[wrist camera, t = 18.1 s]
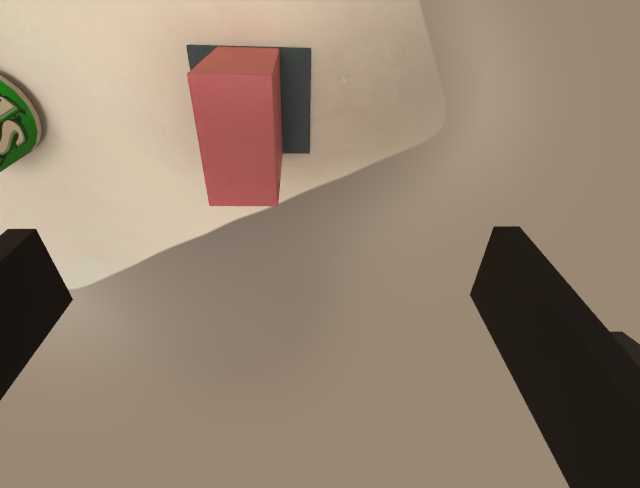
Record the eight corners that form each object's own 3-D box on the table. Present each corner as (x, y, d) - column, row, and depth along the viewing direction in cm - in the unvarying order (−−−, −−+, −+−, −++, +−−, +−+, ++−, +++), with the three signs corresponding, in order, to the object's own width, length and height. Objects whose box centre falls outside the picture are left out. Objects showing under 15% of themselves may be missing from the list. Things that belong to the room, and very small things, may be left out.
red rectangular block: (279, 47, 30) (272, 75, 22) (282, 153, 35) (277, 206, 27) (217, 46, 30) (186, 73, 22) (229, 152, 35) (209, 206, 27)
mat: (310, 48, 30) (310, 48, 30) (309, 152, 36) (309, 153, 35) (187, 44, 30) (186, 45, 30) (204, 151, 35) (203, 152, 35)
